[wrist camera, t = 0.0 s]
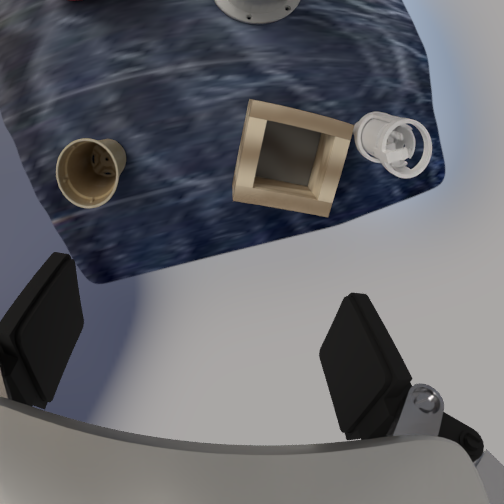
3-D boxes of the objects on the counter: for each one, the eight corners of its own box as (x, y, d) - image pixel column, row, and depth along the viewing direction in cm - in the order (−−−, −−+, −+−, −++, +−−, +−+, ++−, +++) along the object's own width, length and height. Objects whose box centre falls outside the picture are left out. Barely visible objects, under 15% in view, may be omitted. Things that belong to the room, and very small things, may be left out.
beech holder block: (249, 98, 39) (253, 100, 33) (336, 119, 41) (354, 125, 35) (232, 184, 45) (232, 200, 39) (314, 199, 48) (327, 217, 41)
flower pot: (146, 175, 44) (129, 193, 36) (96, 196, 44) (73, 218, 37) (123, 118, 39) (101, 126, 32) (73, 144, 40) (46, 157, 32)
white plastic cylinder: (335, 114, 41) (380, 128, 28) (376, 104, 40) (432, 115, 27) (347, 157, 44) (392, 188, 31) (386, 146, 44) (440, 172, 31)
